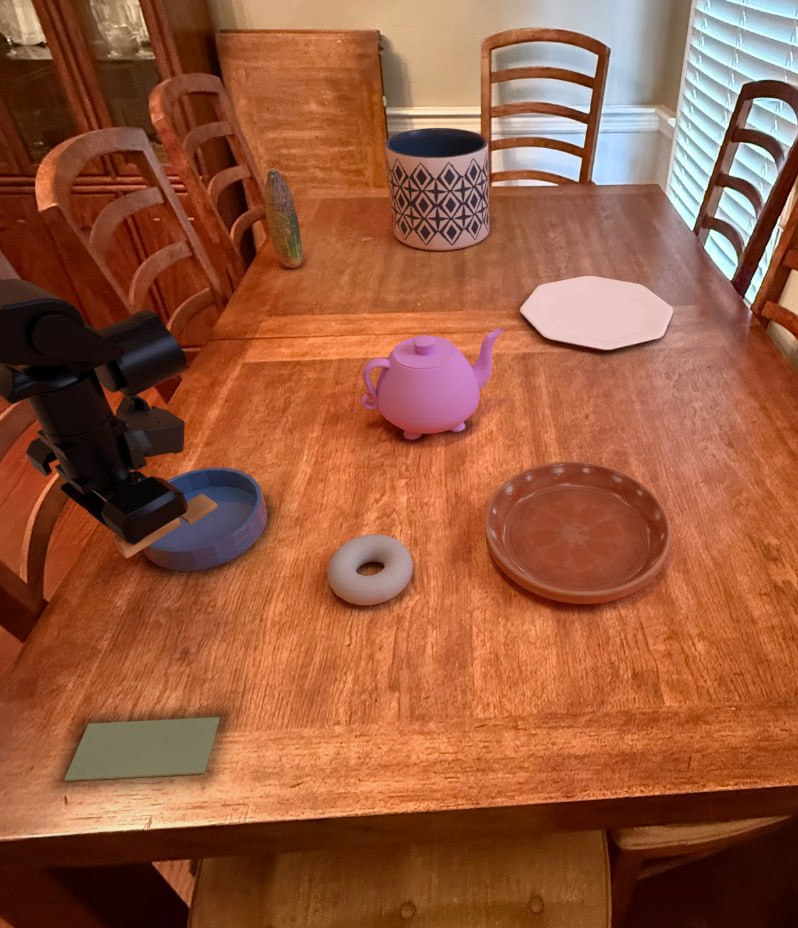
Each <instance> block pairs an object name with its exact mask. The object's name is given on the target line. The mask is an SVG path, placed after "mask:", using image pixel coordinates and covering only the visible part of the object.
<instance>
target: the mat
mask: <svg viewBox="0 0 798 928" xmlns="http://www.w3.org/2000/svg"><path fill="white" fill-rule="evenodd" d="M220 721H221V717H220V716H210V717H193V718H192V717H191V718H173V719H172V718H171V719H170V718H169V719H153V720H152V719H151V720H150V719H149V720H134V721H133V720H131V721H112V722H93V723H88V724H87V726H86V728H85V730H84V732H83V735H82V738H81V739H80V741H79V744H78V747H77V748H76V751H75V754H74V756H73V758H72V761H70V765H69V767H68V769H67V772H66V774H65V776H64V778H63V781H64V782H81V781H83V782H84V781H99V780H119V779H137V778H154V777H173V776H174V777H175V776H192V775H205V774H206V771H207V767H208V763H209V760H210V757H211V753H212V750H213V745H214V742H215V739H216V735H217V731H218V728H219V724H220Z"/></svg>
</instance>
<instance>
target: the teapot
mask: <svg viewBox="0 0 798 928" xmlns="http://www.w3.org/2000/svg"><path fill="white" fill-rule="evenodd" d="M504 331H505V329H504V328H497V329H494V330H492V331H490V332H489V333H487V335H485V337H483V339H482V342H481V344H480V351H479V356H478V359H477V360H476V361H475V362H474V363H473V364H472V365H471V363H470V362H469V361H468V359H467V358H466V356H465V355H464V354H463V353H462V351H461V350H460V349H459V348H458V347H457V346H456V345H455V344H454V343H453V342H452V341H450V340H449V339H447V338H444V337H441V336H436V335H428V334H422V335H421V334H420V335H417V336H413V337H410V338H407V339H404V340H402V341H401V342H399V343H397V344H396V345H395V346H394V347H393V348H392V350H391V351H390V353H389V354H388V356H387V358H383V357H378V358H377V357H376V358H374V359H372V360H369V361H368V362H366V363H365V365H364V366H363V367H362V372H361V375H362V380H363V384H364V386H365V388H366V390H367V392H366V393H365V394H363V395H362V397H361V398H360V403H361V406H362V408H363V409H365V410H367V411H376V410H377V409H378V411H379V412H380V414H381V415H382V417H383V418H384V419H385V420H386V421H387V422H390V423H391V424H392V425H394V426H395V427H397V428H399V429H401V430H403V437H404V438H405V439H406V440H411V441H412V440H417V439H419V438H420V437H421V436H422V435H423V434H426V435H427V434H429V435H430V434H437V433H442V432H446V431H451V432H452V433H453V432H454V433H458V432H462V431H463V430H464V429H466V424H465V421H466V420H467V419H468V418H470V417H471V416H472V415H473V413H474V412H475V411H476V409H477V408H478V405H479V403H480V399H481V393H480V392H481V390H482V389H484V387H485V386H486V385H487V384H488V382H489V380H490V378H491V376H492V372H493V349H494V345H495V343H496V341H497V340H498V338H499V337H500V336H501V335H502V334H503V333H504ZM379 368H381V369H380V372H379V375H378V377H377V381H376V387H375V386H374V384H373V382H372V381H371V377H370V373H371V371H373V370H375V369H379ZM368 400H372V401H368Z"/></svg>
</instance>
